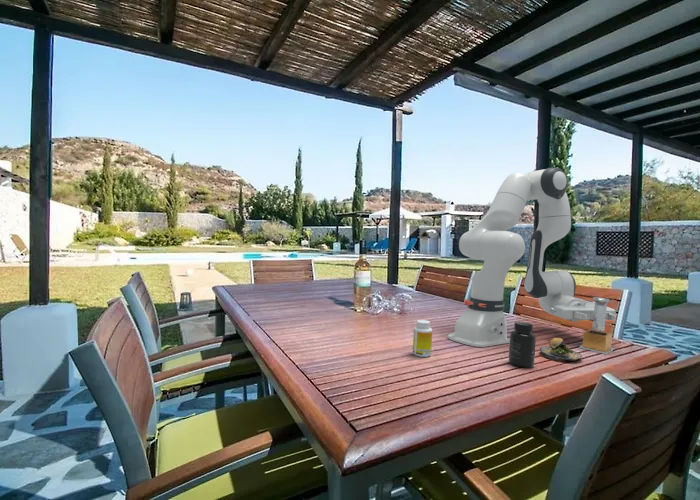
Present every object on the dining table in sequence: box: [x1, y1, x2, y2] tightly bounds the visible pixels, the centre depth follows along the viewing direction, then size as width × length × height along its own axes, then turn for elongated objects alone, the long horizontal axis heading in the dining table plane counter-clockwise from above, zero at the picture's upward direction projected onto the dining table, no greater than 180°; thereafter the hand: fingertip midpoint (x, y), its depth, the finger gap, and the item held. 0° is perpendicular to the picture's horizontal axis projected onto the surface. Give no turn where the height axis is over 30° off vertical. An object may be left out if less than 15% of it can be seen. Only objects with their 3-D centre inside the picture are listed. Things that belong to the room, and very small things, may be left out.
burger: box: [538, 332, 583, 363], centre depth 117 cm, size 12×12×8 cm
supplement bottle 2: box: [508, 321, 537, 369], centre depth 108 cm, size 7×7×12 cm
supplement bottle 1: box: [412, 319, 433, 358], centre depth 114 cm, size 6×6×10 cm
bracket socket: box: [578, 329, 615, 355], centre depth 127 cm, size 8×8×6 cm
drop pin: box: [591, 296, 610, 336], centre depth 126 cm, size 5×5×17 cm
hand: (601, 317), depth 126 cm, fingers open, 8 cm apart
